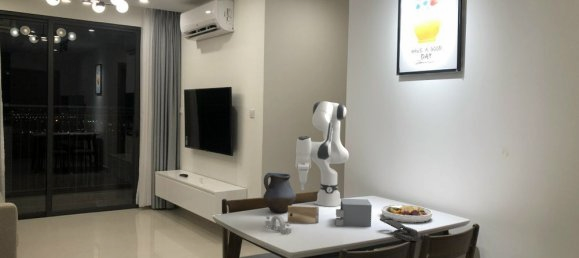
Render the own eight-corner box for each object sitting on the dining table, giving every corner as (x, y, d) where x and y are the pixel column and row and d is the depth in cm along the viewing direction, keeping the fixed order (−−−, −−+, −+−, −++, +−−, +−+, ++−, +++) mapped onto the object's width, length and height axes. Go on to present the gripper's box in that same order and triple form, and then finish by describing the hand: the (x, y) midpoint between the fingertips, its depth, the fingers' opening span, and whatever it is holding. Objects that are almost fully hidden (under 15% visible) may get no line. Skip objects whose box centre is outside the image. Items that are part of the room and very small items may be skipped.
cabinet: (334, 218, 274) (334, 198, 274) (367, 219, 274) (367, 199, 273) (336, 225, 257) (336, 204, 256) (371, 227, 256) (372, 205, 255)
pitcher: (302, 213, 286) (303, 173, 284) (273, 217, 273) (274, 175, 271) (282, 206, 302) (283, 169, 301) (254, 210, 289) (255, 171, 288)
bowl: (373, 212, 293) (374, 200, 292) (417, 211, 299) (417, 199, 298) (393, 225, 263) (394, 211, 263) (441, 223, 269) (442, 210, 269)
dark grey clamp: (390, 216, 255) (423, 227, 233) (390, 228, 255) (423, 240, 233) (377, 218, 250) (410, 229, 229) (377, 230, 251) (410, 242, 229)
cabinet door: (287, 221, 264) (288, 205, 264) (318, 222, 264) (318, 206, 263) (287, 222, 261) (287, 207, 261) (318, 223, 260) (319, 208, 260)
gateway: (265, 226, 253) (265, 212, 252) (268, 226, 254) (268, 211, 254) (287, 235, 238) (287, 220, 237) (290, 234, 239) (291, 219, 239)
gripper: (297, 162, 272) (297, 185, 273) (297, 166, 252) (296, 191, 252) (308, 162, 272) (308, 186, 272) (309, 167, 251) (308, 192, 252)
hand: (302, 188), depth 262 cm, fingers open, 8 cm apart
